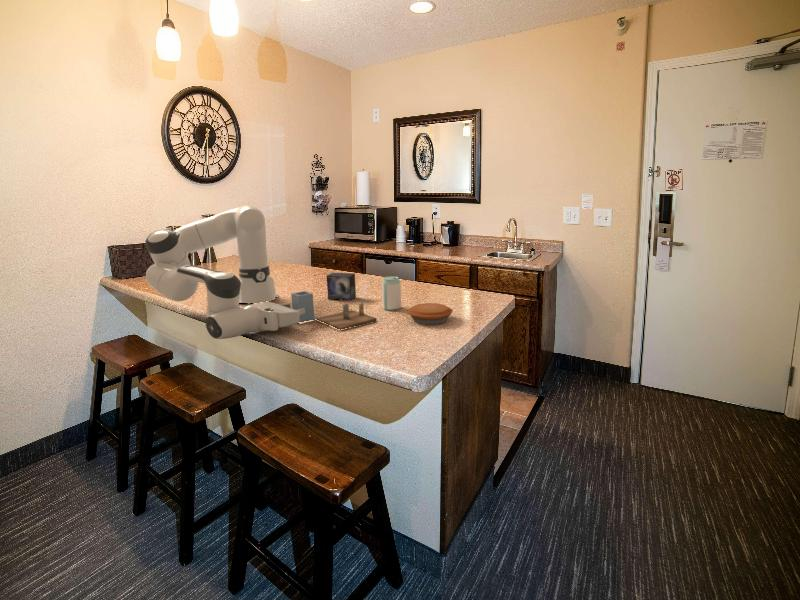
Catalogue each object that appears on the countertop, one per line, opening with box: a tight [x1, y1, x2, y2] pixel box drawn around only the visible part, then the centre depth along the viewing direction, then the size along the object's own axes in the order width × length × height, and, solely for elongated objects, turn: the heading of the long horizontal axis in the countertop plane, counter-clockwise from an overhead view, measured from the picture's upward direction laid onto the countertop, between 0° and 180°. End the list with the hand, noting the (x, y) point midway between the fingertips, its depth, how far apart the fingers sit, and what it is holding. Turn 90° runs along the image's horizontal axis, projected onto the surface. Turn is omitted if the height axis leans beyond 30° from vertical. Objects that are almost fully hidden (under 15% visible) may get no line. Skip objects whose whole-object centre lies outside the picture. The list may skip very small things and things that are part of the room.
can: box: [381, 275, 402, 311], centre depth 171 cm, size 7×7×12 cm
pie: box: [407, 302, 453, 326], centre depth 156 cm, size 15×16×5 cm
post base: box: [316, 302, 378, 330], centre depth 156 cm, size 15×15×6 cm
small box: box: [326, 272, 357, 301], centre depth 188 cm, size 11×6×10 cm, turn 73°
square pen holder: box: [290, 290, 318, 322], centre depth 158 cm, size 7×7×10 cm
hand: (296, 308), depth 156 cm, fingers open, 8 cm apart
